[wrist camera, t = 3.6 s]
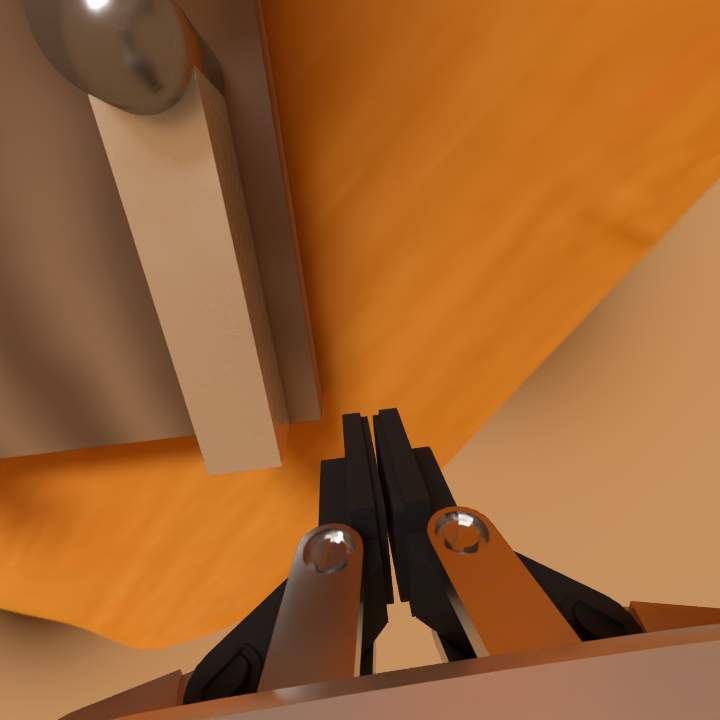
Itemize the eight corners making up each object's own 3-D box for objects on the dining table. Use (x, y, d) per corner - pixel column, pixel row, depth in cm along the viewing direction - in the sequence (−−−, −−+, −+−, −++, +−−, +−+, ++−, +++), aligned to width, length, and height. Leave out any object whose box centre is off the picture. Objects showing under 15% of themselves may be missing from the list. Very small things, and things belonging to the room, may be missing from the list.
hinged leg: (112, 27, 12) (-5, -74, 8) (211, 18, 12) (147, -85, 8) (226, 434, 18) (193, 500, 13) (292, 426, 18) (279, 490, 14)
